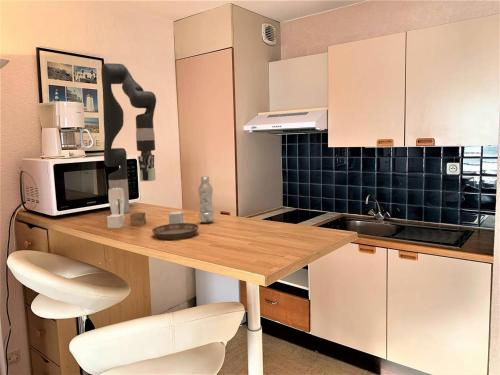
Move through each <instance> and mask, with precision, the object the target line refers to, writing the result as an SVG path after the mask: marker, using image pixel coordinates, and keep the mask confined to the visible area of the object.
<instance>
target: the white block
mask: <svg viewBox="0 0 500 375" xmlns="http://www.w3.org/2000/svg"><path fill="white" fill-rule="evenodd" d="M106 218H107V219H106V220H107V229H120V228H122V227H124V226H125V223H124V222H125V221H124V218H125V217H124V218H123V214H117V215H112V214H110V215H108V216H106Z"/></svg>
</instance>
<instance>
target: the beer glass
mask: <svg viewBox="0 0 500 375" xmlns="http://www.w3.org/2000/svg"><path fill="white" fill-rule="evenodd" d="M107 193H108V203H109V208H110V212H112V213H111V215H117V214H123V218H124V222H125V221H126V218H125V213H124V201H125V198H124V190H123V188H111V189H109V188H108V192H107Z"/></svg>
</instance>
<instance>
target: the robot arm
mask: <svg viewBox="0 0 500 375" xmlns="http://www.w3.org/2000/svg"><path fill="white" fill-rule="evenodd" d="M100 74H101V84H102V86H101V87H102V96H103V128H104V129H103V130H104V135H103V136H104V140H103V141H104V142H103V143H104V144H103V145H104V146H103V161H104V164H105V166H106V167H109V168H110V167H119V169H117V170H116V171H114V172H112V173H109V174H108V189H111V188H123V190H124V198H125V201H124V214H126V213H130V212H131V211H130V199H129V198H130V197H129V195H130V194H129V182H128V167H127V166H128V165H127V164H128V163H127V162H128V161H127V160H128V159H127V157H128V155H127V151H126V149H125V148H123V147H116V148H115V147H113V148H112V146H113V143H114V141H115V140H116V137H117V136H118V134H119V133H120V132H121V130H122V128H123V127H124V122H125V121H124V116H125V114H124V110H123V107H122V106H121V104H120V103H119V102H118V100H117V98H116V96H114V93H113V90H112V85H121V89H122V91H123V93H124V94H125V96H127V97H128V99H129V102H130V105H131V107H133V108H136V109H145V110H144V111H145V112H144V113H140V114H137V115H136V116H135V128H136V130H135V141H136V142H135V143H136V151H138V152H140V156H139V155H138V156H137V158H138V166H139V171H140V170H141V171H143V172H142V173H143V180H148V168H155V154H152V152H153V151H155V150H156V141H155V138H156V137H155V131H154V116H155V115H154V114H155V109H156V105H157V97H156V96H157V95H155V93H154V92H152V91H149V90H148V91H146V90H144V89H143V87H142V86H141V85H140V84H139V83H138V82H136V81H135V79H134V78H133V76H132V74H131V73H130V71H129V69H128V68H127V66H125V65H124V64H122V63H103V64H102V66H101V72H100ZM110 212H111V211H110ZM111 214H112V212H111Z"/></svg>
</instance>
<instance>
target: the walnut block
mask: <svg viewBox="0 0 500 375" xmlns="http://www.w3.org/2000/svg"><path fill="white" fill-rule="evenodd" d="M146 215H147V214H146V212H133V213H131V214H129V216H130V217H129V218H130V220H129V221H130V226H131V227H139V226H140V227H143V226H144V225H145V224H147V216H146Z"/></svg>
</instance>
